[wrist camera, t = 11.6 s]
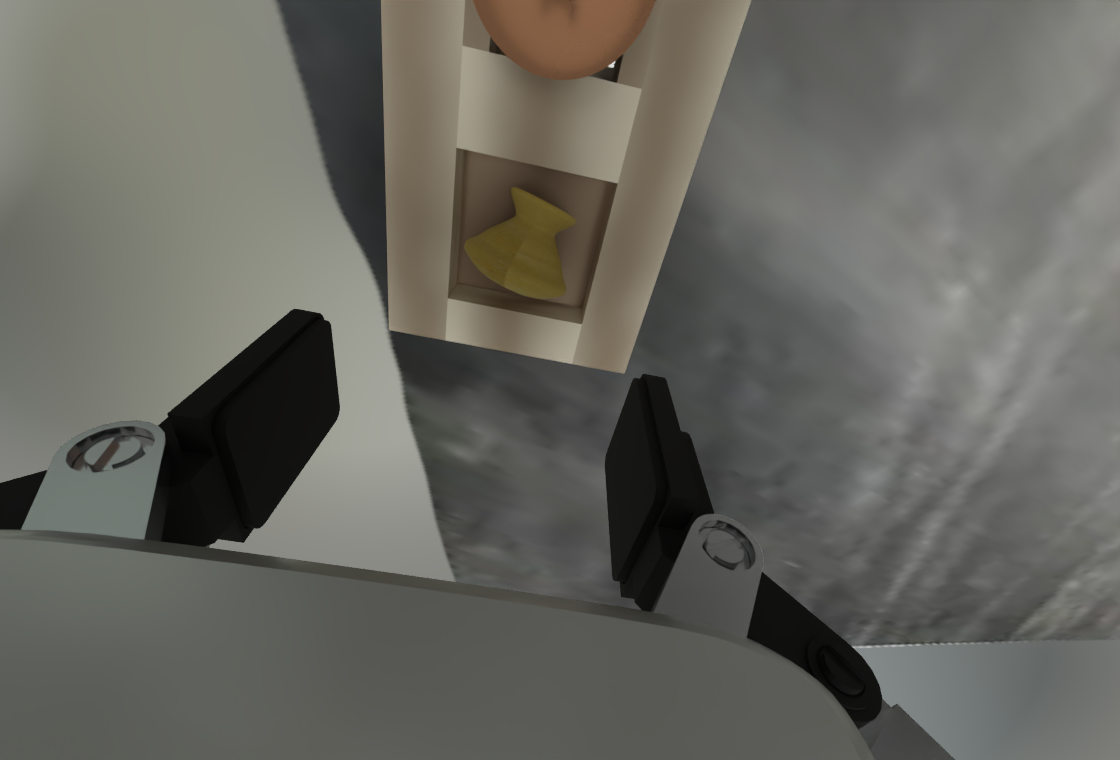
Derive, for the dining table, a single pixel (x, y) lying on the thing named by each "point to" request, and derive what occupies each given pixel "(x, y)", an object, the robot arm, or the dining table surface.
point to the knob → (523, 248)
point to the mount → (541, 172)
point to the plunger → (564, 33)
